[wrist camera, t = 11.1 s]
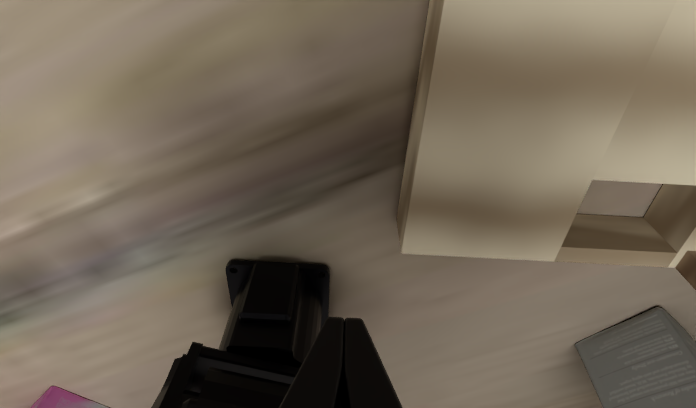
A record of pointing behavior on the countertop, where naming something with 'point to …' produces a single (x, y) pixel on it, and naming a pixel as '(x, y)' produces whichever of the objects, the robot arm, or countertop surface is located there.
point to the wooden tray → (552, 131)
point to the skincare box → (642, 363)
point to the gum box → (64, 400)
